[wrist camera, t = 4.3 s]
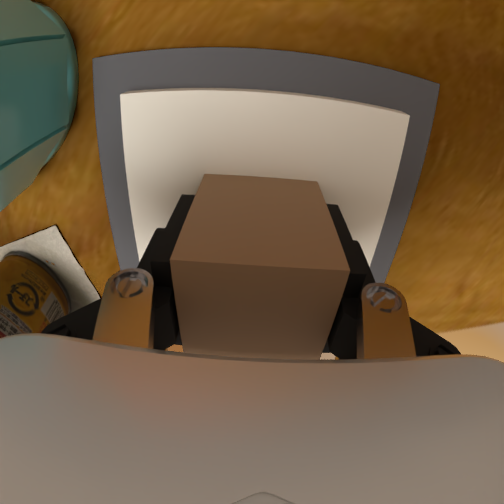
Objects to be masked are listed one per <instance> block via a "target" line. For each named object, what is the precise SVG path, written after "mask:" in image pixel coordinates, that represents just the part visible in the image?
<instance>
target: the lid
mask: <svg viewBox="0 0 504 504" xmlns="http://www.w3.org/2000/svg"><path fill="white" fill-rule="evenodd" d="M120 104H121V121H122V135H123V147H124V158H125V167H126V176H127V184H128V192H129V200H130V207H131V214H132V221H133V227H134V233H135V239H136V245H137V251H138V256H139V261H140V260H141V258H142V256H143V254H144V252H145V250H146V248H147V246H148V244H149V242H150V240H151V238H152V236H153V234H154V232H155V230H156V229H157V228H165V227H166V225H167V223H168V221H169V219H170V217H171V215H172V213H173V211H174V209H175V207H176V205H177V203H178V201H179V199H180V197H181V195H182V194H186V195H195V197H194V200H193V202H192V205H191V207H190V209H189V212H188V214H187V217H186V219H185V222H184V224H183V227H182V229H181V232H180V234H179V237H178V240H177V242H176V245H175V247H174V250H173V253H172V255H171V258H170V265H171V273H172V281H173V288H174V295H175V302H176V309H177V316H178V322H179V328H180V334H181V340H182V346H183V351H184V353H193V354H205V355H217V356H230V357H246V358H267V359H303V360H320V357H321V354H322V352H323V349H324V346H325V344H326V341H327V338H328V336H329V333H330V330H331V327H332V324H333V322H334V319H335V316H336V313H337V310H338V307H339V304H340V301H341V298H342V295H343V292H344V289H345V286H346V283H347V280H348V276H349V273H350V268H349V265H348V262H347V260H346V257H345V254H344V251H343V248H342V245H341V242H340V240H339V237H338V234H337V231H336V229H335V226H334V223H333V220H332V218H331V215H330V212H329V210H328V207H327V205H326V204H336V205H338V206H339V208H340V211H341V213H342V215H343V218H344V220H345V222H346V224H347V227H348V229H349V232H350V234H351V236H352V239H353V240H356V241H358V242H359V243H360V246H361V248H362V250H363V253H364V255H365V257H366V260H367V262H368V265H369V267H370V264H371V261H372V258H373V255H374V252H375V249H376V246H377V243H378V240H379V236H380V233H381V230H382V227H383V223H384V220H385V217H386V213H387V210H388V206H389V203H390V199H391V195H392V192H393V188H394V184H395V180H396V176H397V172H398V168H399V164H400V160H401V156H402V151H403V147H404V142H405V138H406V133H407V128H408V123H409V118H410V115H408V114H406V113H404V112H402V111H399V110H395V109H390V108H386V107H381V106H376V105H371V104H366V103H361V102H356V101H350V100H344V99H338V98H332V97H325V96H318V95H310V94H301V93H292V92H282V91H270V90H256V89H236V88H170V89H150V90H136V91H128V92H125V93H122V94H120Z"/></svg>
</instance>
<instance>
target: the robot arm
mask: <svg viewBox="0 0 504 504" xmlns="http://www.w3.org/2000/svg"><path fill="white" fill-rule="evenodd" d="M194 197H195V195H186V194H182V195H181V197H180V199H179V201H178V203H177V205H176V207H175V209H174V211H173V213H172V215H171V217H170V219H169V221H168V223H167V225H166V227H165V228H157V229H156V230H155V232H154V234H153V236H152V238H151V240H150V242H149V244H148V246H147V248H146V250H145V252H144V254H143V256H142V258H141V260H140V262H139V264H138V266H137V268H128V269H124V270H121V271H118V272H117V273H115V274H113V275H112V276H111V277H110V278H109V279H108V281H107V283H106V285H105V289H104V293H103V296H102V298H100V299H98V300H96V301H94V302H92V303H90V304H88V305H86V306H84V307H82V308H80V309H78V310H76V311H74V312H72V313H70V314H68V315H65V316H63V317H61V318H59V319H57V320H55V321H53V322H52V323H50V324H49V325H47V326H46V327H45V328H44V329H43V330H42V332H41V333H30V334H17V335H11V336H6V337H3V338H0V504H504V363H503V362H501V361H499V360H495V359H492V358H488V357H485V356H477V355H461V353H460V352H459V351H458V349H457V348H456V347H455V346H454V345H452V344H451V343H450V342H448V341H447V340H445V339H444V338H442V337H440V336H439V335H437V334H436V333H434V332H433V331H431V330H430V329H428V328H426V327H425V326H423V325H422V324H420V323H419V322H417V321H416V320H414V319H412V318H411V317H409V313H408V308H407V303H406V300H405V298H404V296H403V295H402V294H401V292H400V291H398V290H397V289H396V288H394V287H392V286H390V285H388V284H384V283H376V282H375V279H374V277H373V274H372V272H371V270H370V267H369V265H368V262H367V260H366V257H365V255H364V253H363V250H362V248H361V246H360V243H359V242H358V241H356V240H353V239H352V236H351V234H350V232H349V229H348V227H347V224H346V222H345V220H344V218H343V215H342V213H341V211H340V208H339V206H338V205H336V204H326V205H327V207H328V210H329V212H330V215H331V218H332V220H333V223H334V226H335V229H336V231H337V234H338V237H339V240H340V242H341V245H342V248H343V251H344V254H345V257H346V260H347V262H348V265H349V268H350V273H349V276H348V280H347V283H346V286H345V289H344V292H343V295H342V298H341V301H340V304H339V307H338V310H337V313H336V316H335V319H334V322H333V324H332V327H331V330H330V333H329V336H328V338H327V341H326V344H325V346H324V349H323V352H322V353H332V354H334V355H335V356H336V357H335V360H303V359H267V358H246V357H230V356H217V355H205V354H193V353H183V352H174V351H168V349H167V348H168V347H170V346H172V345H174V344H176V345H182V340H181V334H180V328H179V322H178V316H177V309H176V302H175V295H174V288H173V281H172V273H171V265H170V258H171V255H172V253H173V250H174V247H175V245H176V242H177V240H178V237H179V234H180V232H181V229H182V227H183V224H184V222H185V219H186V217H187V214H188V212H189V209H190V207H191V205H192V202H193V200H194Z"/></svg>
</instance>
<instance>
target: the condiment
mask: <svg viewBox="0 0 504 504" xmlns="http://www.w3.org/2000/svg"><path fill="white" fill-rule="evenodd" d="M45 260H47V261H48V262H49V263H47V262H46V261H45ZM51 262H52V263H54V264H55V265H52V264H51ZM98 299H100V297H99V295H98V293H97V291H96V290H95V288H94V287H93V285H92V284H91V282H90V281H89V279H88V278H87V276H86V275H85V271H84V269H83V268H81V266H80V265H79V264H78V262H77V261H76V259H75V258H74V256H73V254H72V252H71V250H70V248H69V247H68V245H67V244H66V243H65V241H64V240H63V238H62V236H61V235H60V233H59V231H58V229H57V227H56V226H53V227H50V228H48V229H45V230H43V231H39V232H37V233H35V234H33V235H30V236H28V237H25V238H23V239H20V240H17V241H15V242H12V243H9V244H7V245H4V246H2V247H0V338H3V337H6V336H11V335H17V334H30V333H41V332H42V330H43V329H44V328H45V327H46V326H47V325H49V324H50V323H52V322H53V321H55V320H57V319H59V318H61V317H63V316H65V315H68V314H70V313H72V312H74V311H76V310H78V309H80V308H82V307H84V306H86V305H88V304H90V303H92V302H94V301H96V300H98Z"/></svg>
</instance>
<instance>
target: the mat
mask: <svg viewBox="0 0 504 504" xmlns="http://www.w3.org/2000/svg"><path fill="white" fill-rule="evenodd" d="M93 86H94V103H95V117H96V128H97V138H98V147H99V155H100V163H101V170H102V177H103V184H104V190H105V197H106V202H107V208H108V214H109V219H110V224H111V229H112V234H113V239H114V244H115V248H116V253H117V257H118V261H119V266H120V270H124V269H128V268H137V266H138V264H139V262H140V261H139V256H138V251H137V245H136V239H135V233H134V227H133V221H132V214H131V207H130V200H129V192H128V184H127V176H126V167H125V158H124V147H123V135H122V121H121V104H120V94H122V93H125V92H128V91H136V90H150V89H170V88H236V89H256V90H270V91H282V92H292V93H301V94H310V95H318V96H325V97H332V98H338V99H344V100H350V101H356V102H361V103H366V104H371V105H376V106H381V107H386V108H390V109H395V110H399V111H402V112H404V113H406V114H408V115H410V118H409V123H408V128H407V133H406V138H405V142H404V147H403V151H402V156H401V160H400V164H399V168H398V172H397V176H396V180H395V184H394V188H393V192H392V195H391V199H390V203H389V206H388V210H387V213H386V217H385V220H384V223H383V227H382V230H381V233H380V236H379V240H378V243H377V246H376V249H375V252H374V255H373V258H372V261H371V264H370V270H371V272H372V274H373V277H374V279H375V282H376V283H384V282H385V279H386V276H387V274H388V271H389V269H390V266H391V263H392V261H393V258H394V255H395V253H396V250H397V247H398V244H399V241H400V239H401V236H402V233H403V230H404V227H405V224H406V221H407V218H408V214H409V211H410V208H411V205H412V202H413V198H414V195H415V192H416V188H417V185H418V181H419V177H420V174H421V170H422V166H423V162H424V159H425V155H426V151H427V146H428V142H429V138H430V133H431V129H432V124H433V119H434V114H435V109H436V104H437V99H438V93H439V87H440V84H438V83H435V82H432V81H429V80H426V79H422V78H419V77H416V76H412V75H409V74H406V73H402V72H398V71H395V70H391V69H387V68H383V67H379V66H374V65H370V64H365V63H361V62H356V61H351V60H346V59H340V58H335V57H329V56H322V55H315V54H308V53H300V52H291V51H282V50H270V49H255V48H227V47H203V48H176V49H161V50H150V51H140V52H131V53H123V54H116V55H110V56H104V57H98V58H93Z"/></svg>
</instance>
